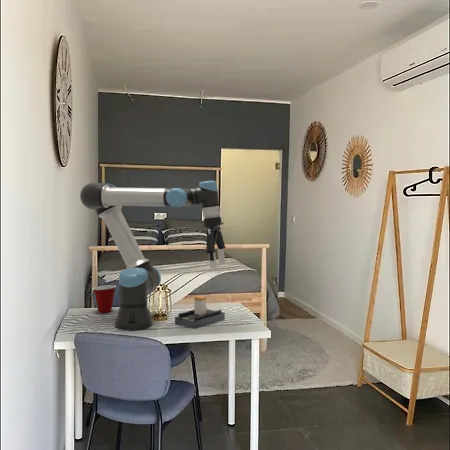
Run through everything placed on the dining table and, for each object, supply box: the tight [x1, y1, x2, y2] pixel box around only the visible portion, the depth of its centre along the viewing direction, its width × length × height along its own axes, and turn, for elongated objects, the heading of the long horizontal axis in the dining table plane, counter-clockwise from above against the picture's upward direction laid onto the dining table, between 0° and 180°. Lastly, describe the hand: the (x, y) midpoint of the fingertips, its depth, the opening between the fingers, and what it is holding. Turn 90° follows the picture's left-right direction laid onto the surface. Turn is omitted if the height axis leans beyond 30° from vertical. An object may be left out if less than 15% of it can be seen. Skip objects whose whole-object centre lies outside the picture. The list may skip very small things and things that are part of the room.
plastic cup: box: [92, 284, 117, 314], centre depth 232 cm, size 11×11×12 cm
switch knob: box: [193, 295, 207, 315], centre depth 215 cm, size 3×4×7 cm
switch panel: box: [174, 308, 226, 329], centre depth 215 cm, size 20×11×4 cm, turn 141°
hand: (218, 266), depth 213 cm, fingers open, 13 cm apart
